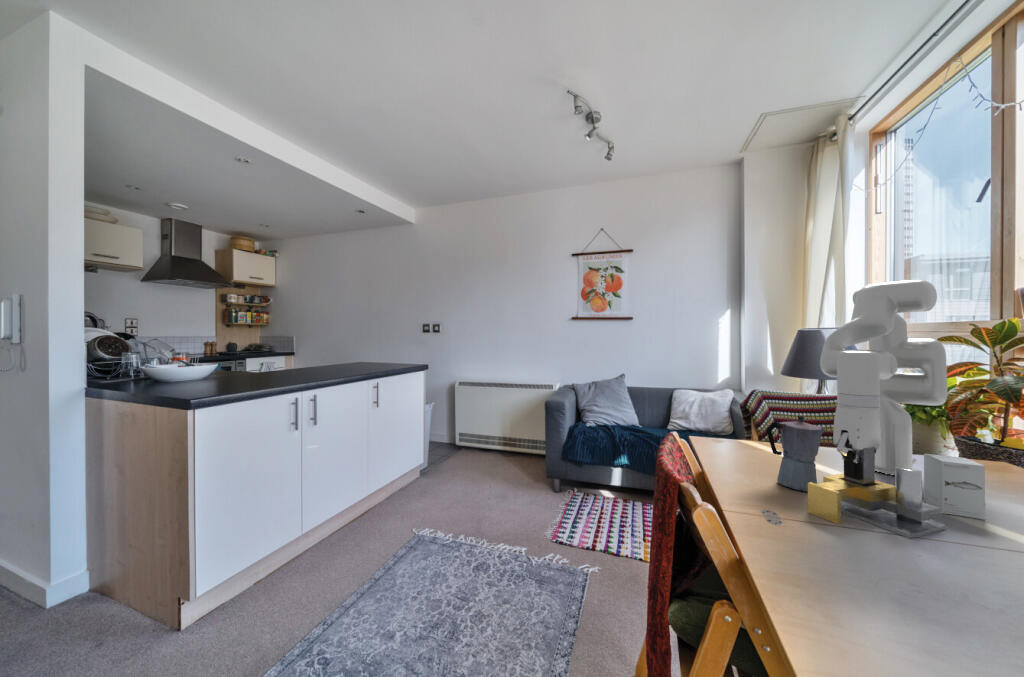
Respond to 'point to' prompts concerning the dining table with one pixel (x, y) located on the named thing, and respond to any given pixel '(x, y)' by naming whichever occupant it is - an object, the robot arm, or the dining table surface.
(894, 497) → the stepped holder fixture
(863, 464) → the wedge pin
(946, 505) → the supplement box
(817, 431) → the moka pot
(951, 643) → the dining table surface
